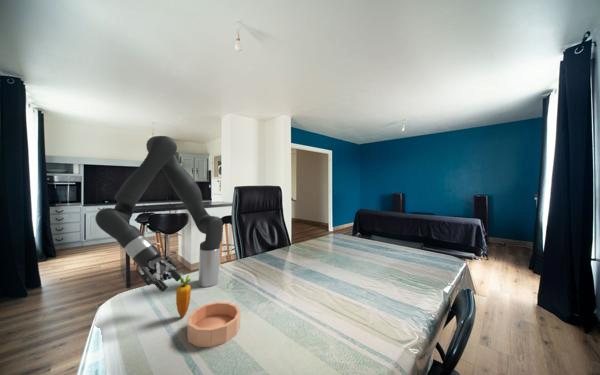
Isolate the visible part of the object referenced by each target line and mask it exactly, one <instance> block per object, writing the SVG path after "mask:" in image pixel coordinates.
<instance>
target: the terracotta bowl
mask: <svg viewBox="0 0 600 375" xmlns="http://www.w3.org/2000/svg"><path fill="white" fill-rule="evenodd" d="M241 312H242V311H241V310H240V308H239V306H238V305H236V304H234V303H232V302H230V301H228V302H225V301H222V302H221V301H217V302H211V303H207V304H204V305H202V306H200V307H198V308H196V309H194V310H193V311H192V312H191V313H190V314H189V315H188V317H187V326H186V327H187V328H186V329H187V332H186V336H187V337H186V338H187V342H188V343H190V344H192V345H193V346H195V347H199V348H212V347H216V346H219V345H222V344H226V343H227V342H229V341H231V339H233V338H234V337H235V336H237V334H238V332H239V330H240V327H241V314H242V313H241Z"/></svg>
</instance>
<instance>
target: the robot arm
mask: <svg viewBox="0 0 600 375" xmlns="http://www.w3.org/2000/svg"><path fill="white" fill-rule="evenodd" d="M177 150H178V146H177V142H176V141H175V140H174V139H173V138H172V137H170V136H166V135H155V136H151V137H150V138H149V139H148V140H147V141H146V152H147V155H146V157H145V158H144V160H143V161H142V163H140V165H139V166H138V167H137V169H135V170H134V171H133V173H131V175H130V176H129V177H128V178H126V180H125V181H124V182H123V184H122V185H121V186H120V188H119V190H118V191H117V192H116V194H115V196H114V200H115V202H116V204H115V206H114V208H112V207H105V208H102V209H101V210H99V211H97V213H96V215H95V219H94V220H95V223H96V225H97V226H98V227H99V228H100V229H101V231H103V232H105V233H106V234H107V235H109V236H110V237H111V238H113V239H114V240H116V241H117V242H118V244H119V245H120V246H121V247H122V248H123V249H124V250H125V252H126V254H127V255H128V256H129V257H130V259H131V260H132V261H133V262H134V263H135V264H136V265H137V266H138V268H140V269H139V271H138V272H137V274H138V276H139V277H140V278H141V279H142V280H143V282H144V283H145V284H146V285H147V286H150V285H154V286H155V287H156V288H157V289H159V291H161V292H164V291H166V290H167V289H168V285H167V284H166V283H165V281H164V280H163V279H162V278H161V276H160V274H162V273H167V274H169V275H170V276H171V278H173V280H174V281H175V282H178V281H181V280H180V278H181V277H182V276H181V274H180V273H179V272H178V271H177V268H178V264H177V263H176V262H175V261H174V260H173V259H172V258H171V257H170V256H169V255H166V256H165V257H161V255H162V253H161V250H159V248H158V247H156V245H154V243H153V242H152V241H151V240H150V239H149V238H148V237H146V236H145V235H144V233H142V231H140V229H139V228H138V227H136V226H135V225H132V224H130V223H129V221H130V220H131V218H132V217H133V214H134V211H135V208H136V205H137V203H138V202H139V201H140V199H141V198H142V196H143V194H144V193H145V192H146V190H147V189H148V187H149V186H150V184H151V183H152V181H153V180H154V179H155V177H156V176H157V174H158V173H159V172H160V171H161V170H162V171H163V173H164V175H165V177H166V178H167V180H168V183H170V185H171V187H172V189H173V191H174V192H175V193H176V195H177V197H178V198H179V199H180V201H181V202H182V204H183V205H184V207H185V208H186V210H187V211H188V212H189V214H190V216H191V218H192V220H193V222H194V224H195V226H196V228H197V230H198V231H199V232H200V233H201V234H205V239H204V241H202V242H200V243H199V256H198V257H199V258H198V259H199V260H198V261H199V262H198V263H199V264H198V279H197V280H198V281H197V282H198V283H197V285H198V286H199V287H203V288H207V287H213V286H216V285H217V284H218V283H219V274H220V254H221V253H220V250H221V243H222V241H223V232H224V231H223V230H224V229H223V228H224V223H223V220H222V218H221V217H219V216H215V215H210V214H209V213H208V212H207V209H205V206H204V204H203V193H202V191H201V189H200V187H199V185H198V184H197V182H196V181H195V178H193V176H192V175H191V174H190V173H189V172H188V171H187V170H186V169H185V168H184V167H183V166H182V165H181V163H180V162H179V160H178V158H177V156H176V154H177Z"/></svg>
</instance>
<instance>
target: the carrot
mask: <svg viewBox="0 0 600 375" xmlns="http://www.w3.org/2000/svg"><path fill="white" fill-rule="evenodd" d="M179 281H180V283H181V285H179V286H177V288H176V294H175V295H176V296H175V304H176V308H177V309H176V310H177V312H178V315H179V317H180V318H184V317H185V316H186V314H187V313H188V312H187V311H188V310H189V306H190V301H191V292H192V289H191V284H188V283H189V282H190V281H192V279H191V278H190V275H186V279H185V280H184V277H183V276H181V278H180V280H179Z"/></svg>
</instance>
